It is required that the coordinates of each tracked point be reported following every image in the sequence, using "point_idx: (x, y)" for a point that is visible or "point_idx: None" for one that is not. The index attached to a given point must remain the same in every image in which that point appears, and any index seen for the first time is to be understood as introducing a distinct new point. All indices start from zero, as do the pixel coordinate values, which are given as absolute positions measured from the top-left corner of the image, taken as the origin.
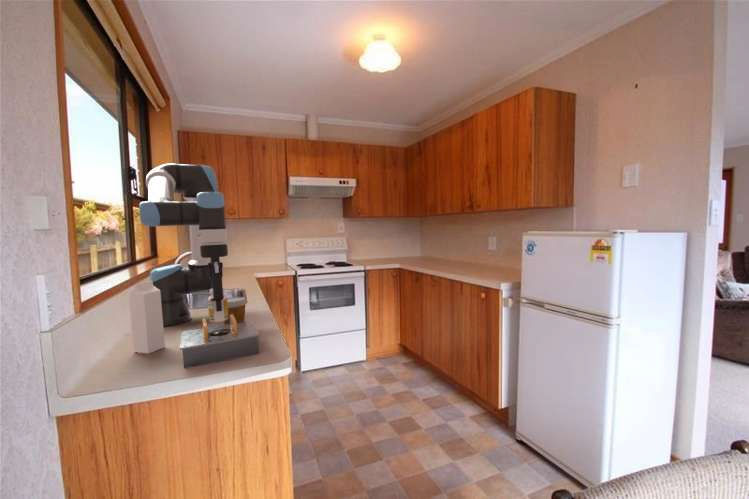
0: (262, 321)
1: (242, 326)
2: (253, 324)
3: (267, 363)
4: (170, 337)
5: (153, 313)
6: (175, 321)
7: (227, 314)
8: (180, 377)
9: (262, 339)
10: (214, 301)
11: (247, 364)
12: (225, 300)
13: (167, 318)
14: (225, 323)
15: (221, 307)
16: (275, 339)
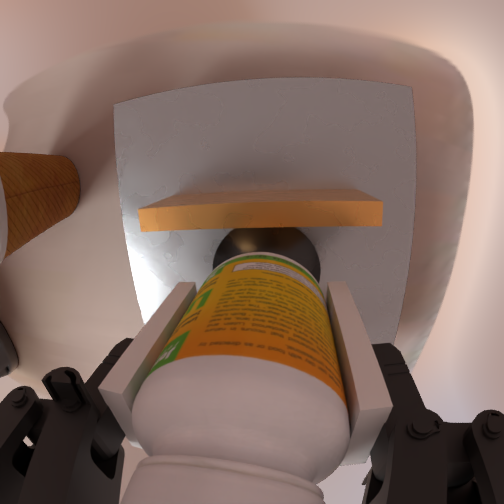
0: (16, 103)
1: (203, 147)
2: (195, 87)
3: (467, 116)
4: (73, 356)
5: (124, 473)
6: (1, 334)
7: (290, 270)
8: (414, 343)
9: (201, 74)
10: (368, 452)
11: (448, 171)
12: (313, 368)
13: (2, 352)
14: (47, 227)
15: (404, 364)
16: (232, 29)
